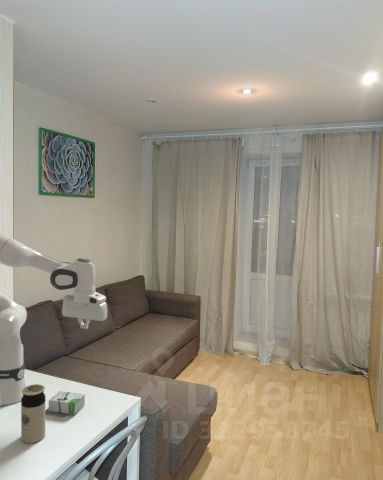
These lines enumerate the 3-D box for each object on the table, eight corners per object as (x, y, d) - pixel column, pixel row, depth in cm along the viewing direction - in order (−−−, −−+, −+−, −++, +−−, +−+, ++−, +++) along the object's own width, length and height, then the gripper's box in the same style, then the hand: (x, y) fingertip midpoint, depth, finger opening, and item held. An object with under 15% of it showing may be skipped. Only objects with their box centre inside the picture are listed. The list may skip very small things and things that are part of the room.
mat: (42, 413, 151) (42, 412, 151) (61, 397, 164) (61, 397, 164) (64, 417, 149) (64, 416, 149) (82, 401, 161) (82, 400, 161)
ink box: (74, 403, 149) (47, 400, 152) (74, 415, 150) (47, 411, 152) (85, 393, 158) (59, 390, 160) (85, 404, 158) (59, 401, 160)
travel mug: (38, 427, 141) (38, 381, 140) (49, 436, 136) (49, 388, 135) (17, 437, 135) (16, 389, 134) (28, 446, 130) (28, 396, 129)
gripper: (59, 295, 161) (58, 327, 162) (102, 300, 155) (101, 333, 156) (67, 292, 167) (67, 323, 168) (109, 297, 161) (108, 328, 162)
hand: (84, 328), depth 162 cm, fingers closed
